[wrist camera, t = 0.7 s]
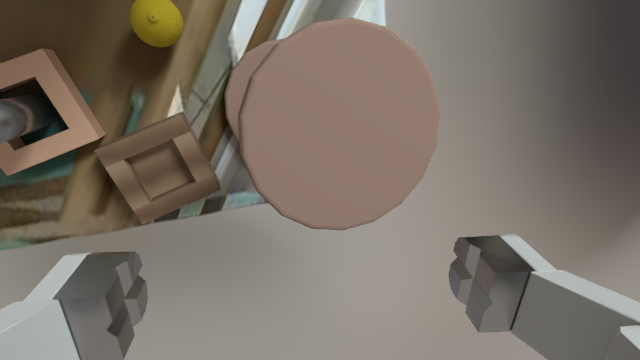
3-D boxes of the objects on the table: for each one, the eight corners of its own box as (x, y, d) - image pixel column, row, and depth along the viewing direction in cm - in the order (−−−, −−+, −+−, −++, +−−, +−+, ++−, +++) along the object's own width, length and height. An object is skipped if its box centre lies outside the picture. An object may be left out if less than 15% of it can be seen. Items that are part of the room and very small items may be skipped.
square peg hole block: (102, 144, 47) (94, 150, 43) (183, 111, 48) (181, 115, 45) (147, 213, 51) (142, 225, 47) (219, 181, 52) (220, 189, 49)
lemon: (175, 56, 46) (169, 55, 39) (129, 34, 44) (114, 28, 37) (191, 16, 45) (189, 6, 38) (146, -9, 43) (134, -24, 36)
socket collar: (-45, 84, 40) (-64, 86, 38) (52, 49, 42) (42, 48, 39) (19, 169, 45) (7, 176, 42) (105, 134, 46) (99, 138, 44)
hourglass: (338, 160, 57) (426, 224, 34) (226, 163, 52) (241, 240, 29) (346, 43, 52) (455, 26, 29) (222, 34, 47) (237, 4, 24)
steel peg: (7, 102, 42) (-62, 115, 31) (41, 89, 43) (-15, 97, 32) (29, 132, 44) (-29, 155, 33) (62, 119, 44) (15, 137, 34)
